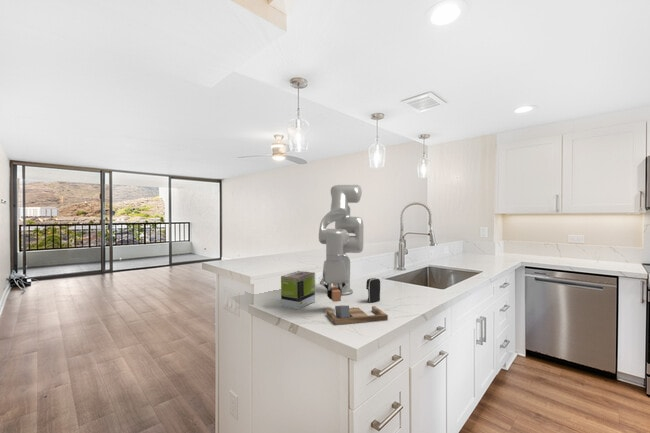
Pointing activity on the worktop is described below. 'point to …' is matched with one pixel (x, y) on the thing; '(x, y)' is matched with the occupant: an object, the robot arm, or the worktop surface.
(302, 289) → the tea box
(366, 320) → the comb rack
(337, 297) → the terracotta stub
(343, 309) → the grey stub
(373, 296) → the battery charger
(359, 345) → the worktop surface
